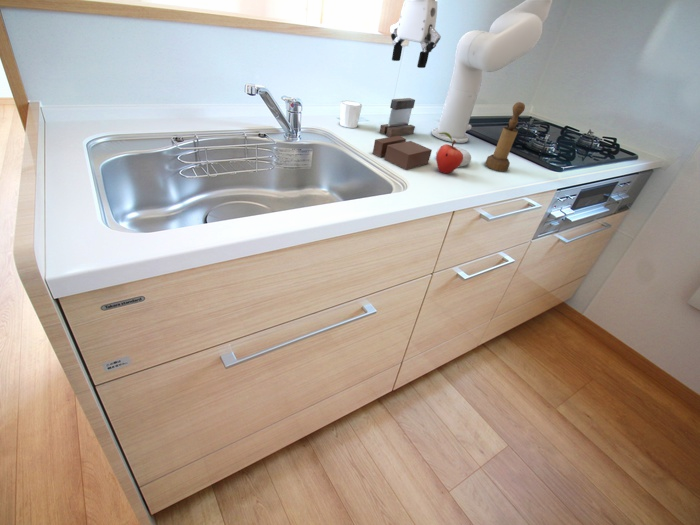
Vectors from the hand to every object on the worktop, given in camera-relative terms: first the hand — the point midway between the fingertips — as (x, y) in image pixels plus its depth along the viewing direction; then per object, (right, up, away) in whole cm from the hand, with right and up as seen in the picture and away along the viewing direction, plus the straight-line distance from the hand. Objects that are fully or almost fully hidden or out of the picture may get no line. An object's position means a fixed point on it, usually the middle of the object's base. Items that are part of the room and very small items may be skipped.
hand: (408, 64), depth 108 cm
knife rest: (-2, -15, +15) cm, 21 cm away
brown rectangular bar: (-6, -27, -3) cm, 28 cm away
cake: (-2, -31, -7) cm, 31 cm away
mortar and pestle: (+26, -31, 0) cm, 40 cm away
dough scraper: (-2, -15, +15) cm, 21 cm away
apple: (+8, -34, -9) cm, 36 cm away
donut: (+13, -29, -1) cm, 32 cm away
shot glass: (-18, -13, +14) cm, 26 cm away
